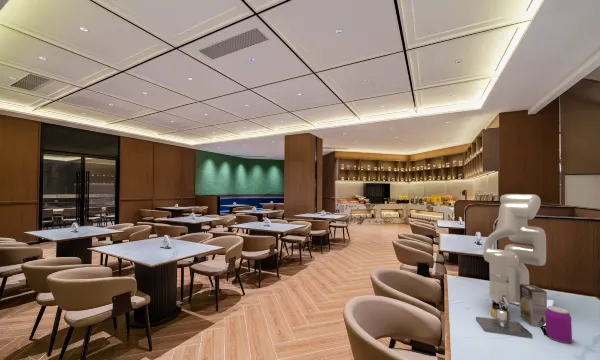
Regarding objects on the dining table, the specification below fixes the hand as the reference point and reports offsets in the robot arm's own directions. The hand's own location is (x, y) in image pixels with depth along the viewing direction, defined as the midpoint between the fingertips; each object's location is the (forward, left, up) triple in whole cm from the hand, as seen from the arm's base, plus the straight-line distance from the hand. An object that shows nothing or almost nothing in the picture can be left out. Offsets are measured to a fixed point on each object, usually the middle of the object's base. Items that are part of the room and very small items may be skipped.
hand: (499, 314), depth 127 cm
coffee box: (-13, +1, -1) cm, 13 cm away
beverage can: (-15, +15, -1) cm, 21 cm away
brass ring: (0, 0, -1) cm, 1 cm away
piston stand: (+4, +12, -1) cm, 13 cm away
